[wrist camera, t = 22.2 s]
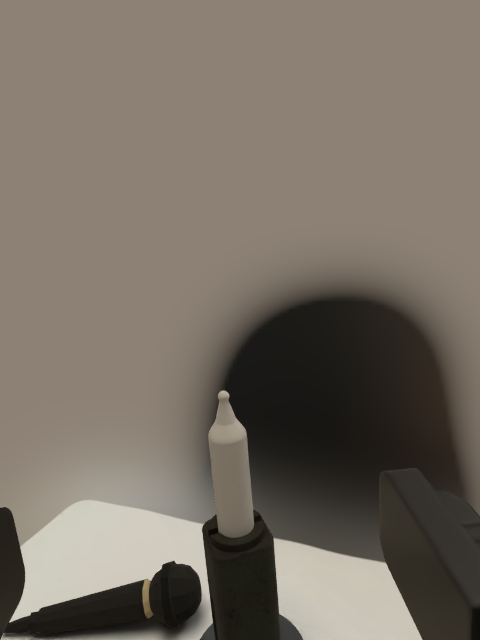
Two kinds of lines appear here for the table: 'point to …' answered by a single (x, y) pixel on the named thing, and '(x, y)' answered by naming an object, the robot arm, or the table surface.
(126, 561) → the table surface
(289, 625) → the slate coaster
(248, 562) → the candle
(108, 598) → the microphone
